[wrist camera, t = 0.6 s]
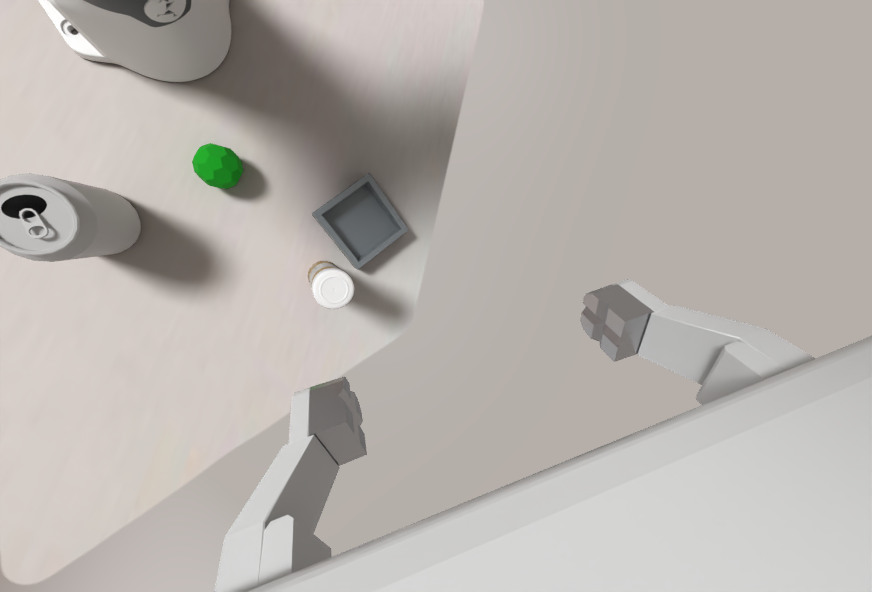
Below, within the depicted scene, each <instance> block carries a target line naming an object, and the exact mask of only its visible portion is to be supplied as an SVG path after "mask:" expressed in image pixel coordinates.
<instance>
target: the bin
mask: <svg viewBox="0 0 872 592" xmlns="http://www.w3.org/2000/svg"><path fill="white" fill-rule="evenodd" d="M312 216H313V217H314V218H315V219H316V220H317V222H318V223H319V224H320V225H321V227H322V228H323V229H324V230H325V232H326V233H327V234H328V235H329V237H330V238H331V239H332V240H333V242H334V243H335V244H336V245H337V247H338V248H339V249H340V250H341V251H342V253H343V254H344V255H345V256H346V258H347V259H348V260H349V261H350V263H351V264H352V265H353V266H354V268H356V269H359V268H361V267H362V266H363V265H364V264H366V263H367V262H368V261H370V260H371V259H372V258H373V257H375V256H376V255H377V254H379V253H380V252H381V251H382V250H384V249H385V248H386V247H388V246H389V245H390V244H391V243H393V242H394V241H395V240H396V239H398V238H399V237H400V236H402V235H403V234H404V233H405V232H407V231H408V228H407V227H406V225H405V224H404V222H403V221H402V220H401V218H400V217H399V215H398V214H397V212H396V211H395V209H394V208H393V206H392V205H391V204H390V202H389V201H388V199H387V198H386V196H385V195H384V193H383V192H382V190H381V189H380V188H379V186H378V185H377V183H376V182H375V180H374V179H373V177H372V176H371V174H370V173H368V174H367V175H365V176H364V177H363V178H361V179H360V180H358V181H357V182H356V183H354V184H353V185H351V186H350V187H349V188H347V189H346V190H344V191H343V192H342V193H340V194H339V195H337V196H336V197H335V198H333V199H332V200H330V201H329V202H327V203H326V204H325V205H323V206H322V207H320V208H319V209H318V210H316V211H315V212H313V213H312Z"/></svg>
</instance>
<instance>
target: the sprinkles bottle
mask: <svg viewBox="0 0 872 592" xmlns="http://www.w3.org/2000/svg"><path fill="white" fill-rule="evenodd" d="M308 279H309V282H310V285H311V288H312V293H313V296H314V298H315V300H316V301H317V302H318V303H319V304H320V305H321V306H323V307H325V308H328V309H338V308H342V307H344V306H345V305H347V304H348V303H349V302H350V301H351V299H352V297H353V295H354V283H353V281H352V279H351V277H350V276H349V275H348V274H347V273H346V272H344V271H343V270H341V269H339V268H337V267H336V266H335V265H334V264H333V263H331V262H328V261H320V262H317V263H315V264H314V265H313V266H312V267H311V268H310V270H309V272H308Z"/></svg>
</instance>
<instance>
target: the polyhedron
mask: <svg viewBox="0 0 872 592" xmlns="http://www.w3.org/2000/svg"><path fill="white" fill-rule="evenodd" d="M192 163H193V167H194V171H195V172H196V174H197V175H198V176H199V177H200V178H201V179H202V180H203V181H204V182H205V183H206V184H208V185H210V186H214V187H218V188H225V189H227V188H230V187H233V186H235V185H236V184H237V182H238V180H239V178H240V177H241V175H242V173H243V167H242V163H241V161H240V159H239V157H238V156H237V155H236V154H235V153H234V152H233V151H232V150H231V149H229V148H226V147H222V146H218V145H215V144H211V143H210V144H207V145H204V146H201V147H200V148H199V149H198V151H197V153H196V154H195V156H194V159H193V161H192Z"/></svg>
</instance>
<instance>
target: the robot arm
mask: <svg viewBox="0 0 872 592" xmlns="http://www.w3.org/2000/svg"><path fill="white" fill-rule="evenodd" d="M38 2H39V3H40V5H41V6H42V7H43V9H44V10H45V12H46V13H47V15H48V16H49V18H50V19H51V21H52V22H53V24H54V25H55V27H56V28H57V30H58V31H59V32H60V34H61V35H62V37H63V38H64V40H65V41H66V43H67V44H68V45H69V47H70V48H71V49H72V50H73V51H74V52H75V53H76V54H77V55H79V56H80V57H82V58H85V59H88V60H92V61H98V62H107V63H115V64H118V65H121V66H123V67H126V68H128V69H130V70H132V71H135V72H137V73H139V74H142V75H144V76H147V77H150V78H154V79H157V80H162V81H169V82H185V81H192V80H196V79H199V78H202V77H204V76H206V75H208V74H210V73H211V72H213V71H214V70H215V69H216V68H217V67H218V66H219V65H220V64H221V63H222V61H223V60H224V58H225V57H226V55H227V53H228V50H229V47H230V43H231V20H230V13H229V2H230V0H38ZM73 29H76V30H77V31H78V32H79V33H78V34H77V35H73V34H72V30H73ZM583 303H584V305H585V306H586V308H585V309H584V310H583V311H582V313H581V323H582V326H583V329H584V330H585V332H586V333H587V335H588V336H589V337H590V338H591V339H594V340H597V341H600V348H601V349H602V350H603V351H604V352H605V353H606V354H607V355H608V356H609V357H610V358H611V359H612V360H613V361H618V360H621V359H623V358H626V357H629V356H632V355H635V354H638V356H640V357H643V358H645V359H647V360H649V361H651V362H653V363H656V364H658V365H660V366H662V367H665V368H667V369H669V370H671V371H673V372H675V373H678V374H680V375H682V376H684V377H686V378H688V379H691V380H693V381H695V382H697V383H699V384H701V385H702V387H701V389H700V390H699V392H698V394H697V398H696V400H697V401H698V402H699V403H700V404H702V406H699V407H697V408H694V409H692V410H689V411H687V412H685V413H682V414H680V415H677V416H675V417H673V418H670V419H667V420H665V421H663V422H660V423H658V424H656V425H653V426H650V427H648V428H645V429H643V430H641V431H638V432H636V433H633V434H631V435H628V436H626V437H623V438H621V439H619V440H616V441H614V442H611V443H609V444H606V445H604V446H601V447H599V448H597V449H594V450H592V451H589V452H587V453H585V454H582V455H579V456H577V457H575V458H572V459H570V460H568V461H565V462H563V463H560V464H558V465H555V466H553V467H550V468H548V469H545V470H543V471H540V472H538V473H535V474H533V475H531V476H528V477H526V478H523V479H521V480H518V481H516V482H513V483H511V484H509V485H506V486H504V487H501V488H499V489H497V490H494V491H492V492H489V493H487V494H484V495H482V496H479V497H477V498H474V499H472V500H470V501H467V502H465V503H462V504H460V505H457V506H455V507H452V508H450V509H448V510H445V511H443V512H440V513H438V514H436V515H433V516H431V517H428V518H426V519H423V520H421V521H418V522H416V523H413V524H411V525H409V526H406V527H404V528H401V529H399V530H396V531H394V532H391V533H389V534H387V535H384V536H382V537H379V538H377V539H375V540H372V541H370V542H367V543H365V544H362V545H360V546H358V547H355V548H352V549H350V550H348V551H346V552H343V553H340V554H338V555H335V556H333V557H331V548H330V547H329V546H327V545H326V544H325V543H324V542H322V541H321V540H320V539H319V538H318V537H316V536H315V535H314V534H313V533H314V531H315V528H316V526H317V523H318V521H319V518H320V516H321V513H322V511H323V508H324V506H325V503H326V500H327V498H328V495H329V493H330V490H331V488H332V485H333V483H334V480H335V478H336V475H337V473H338V470H339V466H340V465H342V464H345V463H347V462H350V461H352V460H354V459H357V458H359V457H362V456H364V455H367V452H366V444H365V437H364V433H363V431H362V429H361V427H360V425H361V423H362V421H363V420H362V413H361V410H360V405H359V402H358V399H357V397H356V395H355V393H354V392H352V391H350V385H349V382H348V381H347V379H346V377H342V378H338V379H335V380H332V381H329V382H326V383H322V384H319V385H316V386H313V387H310V388H307V389H304V390H301V391H298V392H295V393H294V394H293V397H292V403H291V418H290V431H289V444H286V445H284V446H283V447H282V449H281V450H280V452H279V453H278V455H277V456H276V458H275V459H274V461H273V463H272V464H271V466H270V467H269V469H268V471H267V472H266V474H265V475H264V477H263V478H262V480H261V481H260V483H259V485H258V486H257V488H256V489H255V491H254V492H253V494H252V495H251V497H250V499H249V500H248V502H247V503H246V505H245V506H244V508H243V510H242V511H241V513H240V514H239V516H238V517H237V519H236V520H235V522H234V524H233V525H232V527H231V528H230V530H229V531H228V533H227V535H226V536H225V539H224V544H223V549H222V554H221V559H220V565H219V570H218V576H217V580H216V586H215V591H214V592H872V336H870V337H868V338H865V339H863V340H861V341H858V342H856V343H853V344H851V345H848V346H846V347H843V348H841V349H838V350H836V351H834V352H831V353H829V354H826V355H824V356H821V357H819V358H817V359H815V358H814V357H812V356H810V355H809V354H807V353H805V352H804V351H802V350H801V349H799V348H797V347H795V346H794V345H792V344H791V343H789V342H787V341H786V340H784V339H782V338H781V337H779V336H777V335H776V334H774V333H773V332H771V331H769V330H768V329H765V328H761V327H757V326H754V325H750V324H746V323H742V322H738V321H734V320H730V319H726V318H722V317H718V316H714V315H710V314H706V313H702V312H698V311H695V310H691V309H687V308H683V307H679V306H675V305H673V306H670V307H669V306H668V305H666V304H665V303H664V302H662V301H661V300H660V299H658V298H657V297H655V296H654V295H652V294H651V293H649V292H648V291H646V290H645V289H644V288H642V287H641V286H640V285H638V284H637V283H635V282H634V281H632V280H629V279H627V280H624V281H621V282H618V283H615V284H613V285H609V286H606V287H604V288H601V289H598V290H595V291H592V292H590V293H587V294H586V295H585V296H584V299H583Z"/></svg>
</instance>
